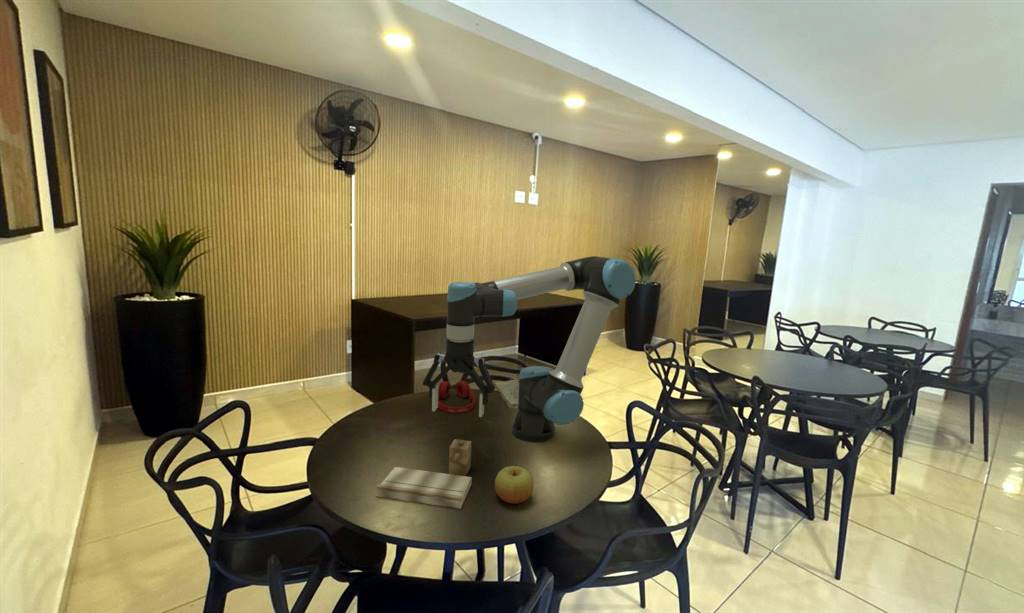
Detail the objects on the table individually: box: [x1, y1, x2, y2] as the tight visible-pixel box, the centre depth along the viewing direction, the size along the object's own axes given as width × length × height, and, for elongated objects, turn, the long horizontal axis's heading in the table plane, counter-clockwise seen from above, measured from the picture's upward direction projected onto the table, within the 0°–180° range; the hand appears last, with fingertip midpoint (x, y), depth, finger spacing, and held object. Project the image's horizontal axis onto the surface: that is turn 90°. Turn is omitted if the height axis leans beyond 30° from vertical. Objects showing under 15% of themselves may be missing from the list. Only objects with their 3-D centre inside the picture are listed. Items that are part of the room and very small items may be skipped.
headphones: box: [437, 380, 476, 414], centre depth 172 cm, size 15×7×20 cm
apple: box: [494, 465, 534, 505], centre depth 112 cm, size 10×10×8 cm
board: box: [376, 466, 473, 510], centre depth 114 cm, size 22×11×3 cm, turn 81°
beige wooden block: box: [448, 439, 472, 476], centre depth 122 cm, size 5×8×9 cm, turn 171°
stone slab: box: [493, 379, 519, 411], centre depth 181 cm, size 12×4×30 cm
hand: (457, 412), depth 122 cm, fingers open, 13 cm apart
